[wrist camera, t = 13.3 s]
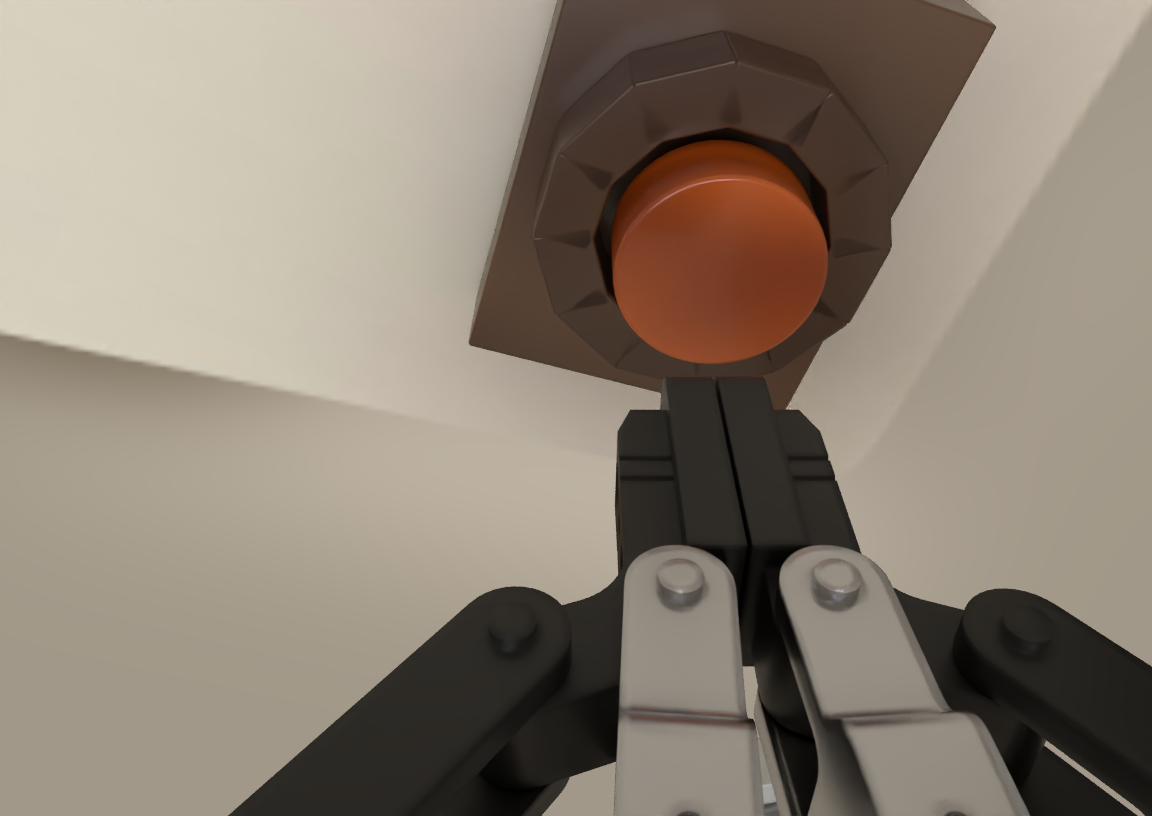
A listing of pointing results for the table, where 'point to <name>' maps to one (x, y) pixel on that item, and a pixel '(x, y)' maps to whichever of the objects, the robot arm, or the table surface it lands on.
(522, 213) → the button block
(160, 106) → the table surface
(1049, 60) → the table surface
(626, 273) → the button
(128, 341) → the table surface
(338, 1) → the table surface
